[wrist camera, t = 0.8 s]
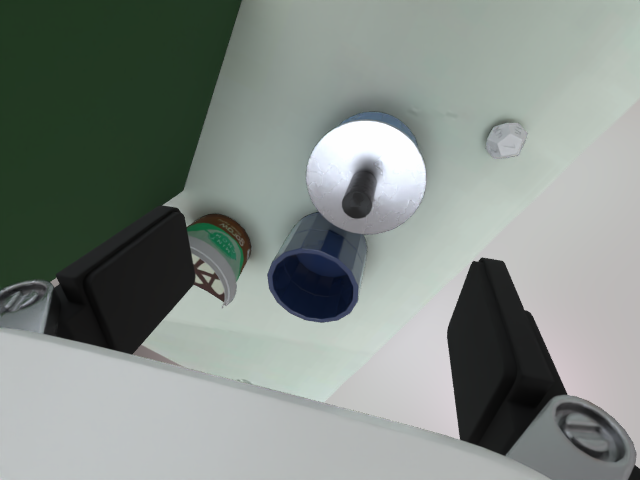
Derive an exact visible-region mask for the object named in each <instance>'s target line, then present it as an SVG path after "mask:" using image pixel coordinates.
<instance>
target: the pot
mask: <svg viewBox="0 0 640 480" xmlns="http://www.w3.org/2000/svg"><path fill="white" fill-rule="evenodd" d="M366 254H367V245H366V241H365V238H364V236H363V234H357V233H352V232H348V231H345V230H343V229H340V228H339V227H337V226H335V225H333V224H332V223H330V222H329V221H328V220H327V219H325V218H324V217H323V216H322V215H321V214H320V212H317V213H313V214H310V215H307V216H305V217H304V218H302V219H301V220H300V221H299V222H298V223H297V224H296V225H295V226H294V227H293V229H292V230H291V232H290V234H289V235H288V237H287V239H286V240H285V242H284V243H283V245H282V247H281V248H280V250H279V252H278V253H277V255H276V257H275V258H274V260H273V262H272V264H271V266H270V269H269V272H268V274H267V276H268V284H269V289H270V291H271V293H272V294H273V296H274V298H275V299H276V301H277V303H279V304H280V305H281V306H282V307H283V308H284V309H286V310H287V311H288V312H289V313H291V314H293V315H295V316H297V317H300V318H302V319H304V320H308V321H314V322H320V323H323V322H330V321H337V320H339V319H341V318H343V317H344V316H346V315H348V314H350V313H351V311H352V310H353V308H354V306H355V305H356V303H357V302H358V298H359V293H360V288H361V283H362V278H363V273H364V268H365V263H366Z"/></svg>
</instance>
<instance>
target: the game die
mask: <svg viewBox="0 0 640 480" xmlns="http://www.w3.org/2000/svg"><path fill="white" fill-rule="evenodd" d="M527 135H528V133H527V132H526V130H525V129H524V128H523V127H522V126H521V125H520V124H519V123H506V124H502V125H498V126H495V127H493V129H492V131H491V133H490V135H489V137H488V138H487V143H486V148H485V149H486V150H487V151H488V152H489V154H490V155H491V156H492V157H493V158H494V159H502V158H509V157H514V156H518V155H519V154H520V152H521V150H522V148H523V146H524V144H525V141H526V138H527Z"/></svg>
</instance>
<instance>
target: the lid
mask: <svg viewBox="0 0 640 480" xmlns="http://www.w3.org/2000/svg"><path fill="white" fill-rule="evenodd" d="M426 181H427V177H426V167H425V163H424V160H423V157H422V154H421V152H420V151H419V149H418V147H417V146H416V144H415V143H414V142H413V140H412V139H411V138H410V137H409V136H408V135H407V134H405V133H404V132H403V131H401V130H400V129H398V128H396V127H395V126H393V125H390V124H388V123H385V122H381V121H377V120H368V119H366V120H355V121H350V122H347V123H344V124H341V125H339V126H337V127H335V128H334V129H332V130H331V131H329V132H328V133H327V134H326V135H325V136H323V137H322V139H321V140H320V141H319V142H318V143H317V144H316V146H315V148H314V149H313V151H312V153H311V155H310V157H309V161H308V164H307V170H306V182H307V188H308V192H309V195H310V198H311V200H312V202H313V204H314V206H315V207H316V209H317V210H318V211H319V212H320V214H321V215H322V216H323V217H324V218H325V219H327V220H328V221H329V222H330V223H332V224H333V225H335V226H337V227H339V228H340V229H343V230H345V231H348V232H352V233H357V234H378V233H383V232H386V231H389V230H392V229H394V228H396V227H398V226H399V225H401V224H403V223H404V222H405V221H406V220H408V219H409V218H410V217H411V216H412V215H413V214H414V212H415V211H416V210H417V208H418V207H419V205H420V203H421V201H422V199H423V196H424V193H425V189H426Z"/></svg>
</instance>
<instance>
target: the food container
mask: <svg viewBox="0 0 640 480" xmlns="http://www.w3.org/2000/svg"><path fill="white" fill-rule="evenodd" d="M186 228H187V233H188V238H189V243H190V249H191V254H192V259H193V264H194V270H195V275H196V278H195V282H194V284H193V285H196V286H198V287H200V288H202V289H204V290H206V291H208V292H209V293H211V294H212V295H214V296H215V297H217V298H218V299H220V300H221V301H223V302H224V304H223V306H222V308H223V307H224V305H225V306H227V305H228V304H229V303H230V302H231V301H232V300H233V299H234V297H235V294H236V288H237V285H236V282H237V280H238V278H239V276H240V274H241V272H242V270H243V268H244V266H245V264H246V262H247V260H248V258H249V256H250V253H251V244H250V239H249V237H248V235H247V233H246V232H245V230H244V229H243V228H242V227H241V226H240V225H239V224H238V223H237V222H236V221H234V220H233V219H231V218H229V217H227V216H224V215H220V214H209V215H205V216H203V217H202V218H200V219H198V220H197V221H195V222H194V223H192V224H191V225H189V226H188V227H186Z"/></svg>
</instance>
